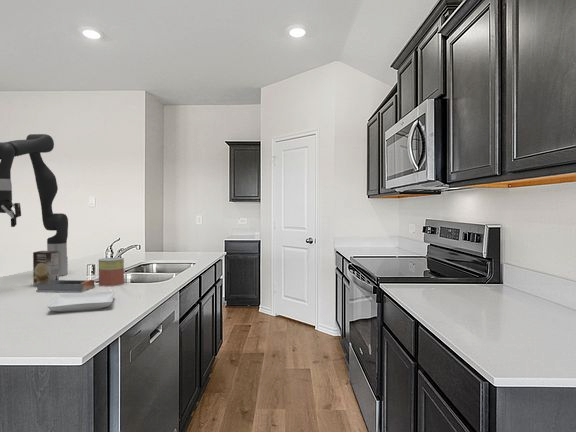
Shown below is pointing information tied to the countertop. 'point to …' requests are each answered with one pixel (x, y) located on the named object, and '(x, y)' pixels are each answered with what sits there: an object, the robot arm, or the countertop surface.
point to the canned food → (111, 271)
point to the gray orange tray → (66, 286)
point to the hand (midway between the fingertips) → (2, 226)
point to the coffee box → (45, 267)
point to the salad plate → (81, 301)
